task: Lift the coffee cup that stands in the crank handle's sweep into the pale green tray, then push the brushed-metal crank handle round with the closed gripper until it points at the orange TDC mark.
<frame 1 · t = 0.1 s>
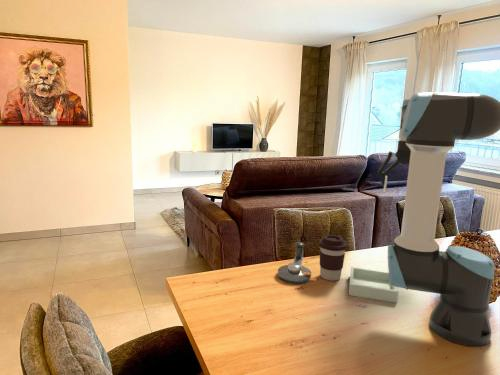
hand: (402, 193, 150), 28 cm above the table, fingers open, 13 cm apart
crank: (297, 257, 139), point 6 cm above the table, hinge at 0.0°
grey round base: (294, 276, 136), on the table
tray: (371, 288, 129), on the table
coffee cup: (330, 277, 137), on the table
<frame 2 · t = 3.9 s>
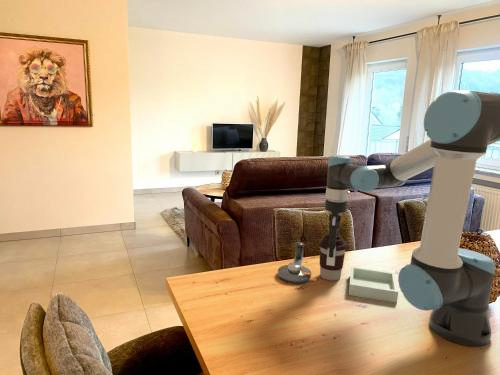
hand: (331, 259, 136), 7 cm above the table, fingers closed on coffee cup, 10 cm apart
coffee cup: (330, 277, 137), on the table, touching gripper
everything else where it was.
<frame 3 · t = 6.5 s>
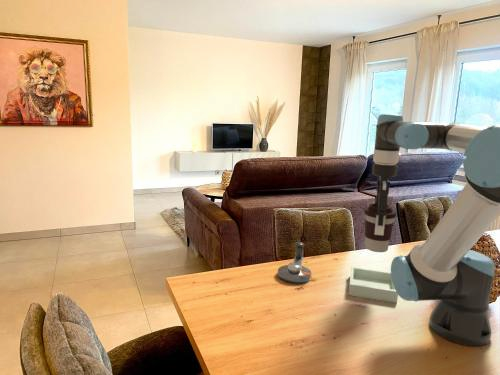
hand: (378, 229, 124), 21 cm above the table, fingers closed on coffee cup, 10 cm apart
coffee cup: (376, 249, 126), point 14 cm above the table, touching gripper
everything else where it was.
when the fingers open (9 cm above the table, at t = 9.2 s): coffee cup drops 1 cm, resting on tray.
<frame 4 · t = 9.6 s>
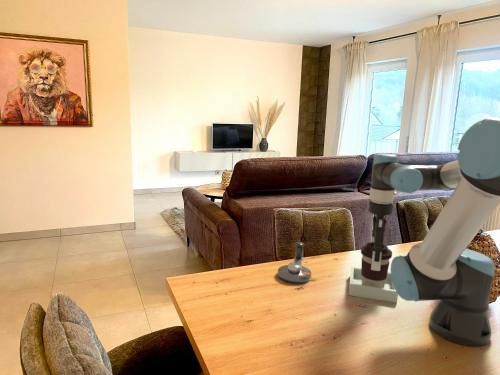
hand: (374, 262, 127), 10 cm above the table, fingers open, 13 cm apart
coffee cup: (372, 287, 128), point 1 cm above the table, touching tray
everything else where it was.
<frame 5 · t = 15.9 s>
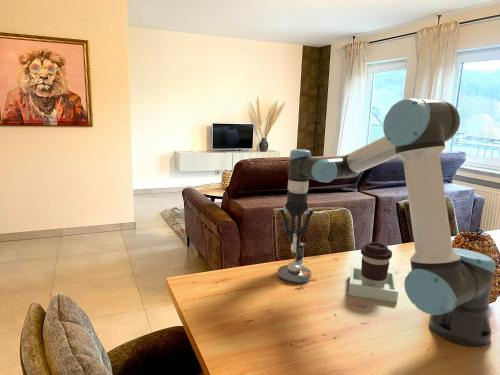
hand: (293, 251, 143), 6 cm above the table, fingers closed
crank: (297, 257, 139), point 6 cm above the table, hinge at -1.5°, touching gripper
everything else where it was.
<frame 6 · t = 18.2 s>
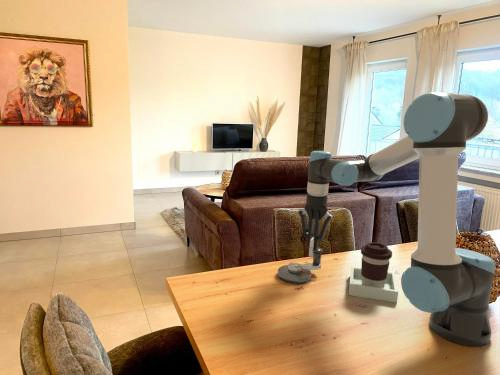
hand: (311, 255, 140), 6 cm above the table, fingers closed
crank: (305, 260, 136), point 6 cm above the table, hinge at -52.8°, touching gripper
everything else where it was.
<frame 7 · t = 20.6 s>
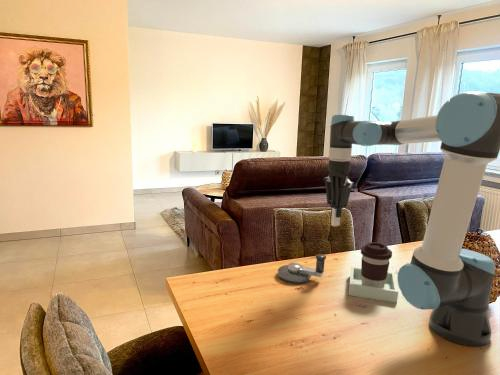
hand: (335, 225, 134), 19 cm above the table, fingers closed
crank: (306, 263, 133), point 6 cm above the table, hinge at -94.0°
everything else where it was.
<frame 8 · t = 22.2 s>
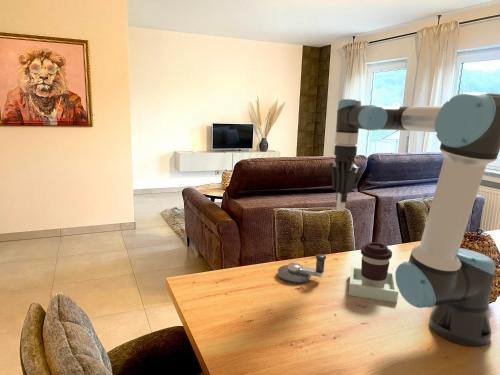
hand: (340, 210, 135), 24 cm above the table, fingers closed
nothing on the table moved.
at the end: crank at -94° (first picture: +0°); coffee cup 0.4 cm from the tray (horizontally); coffee cup tilted 0° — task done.
